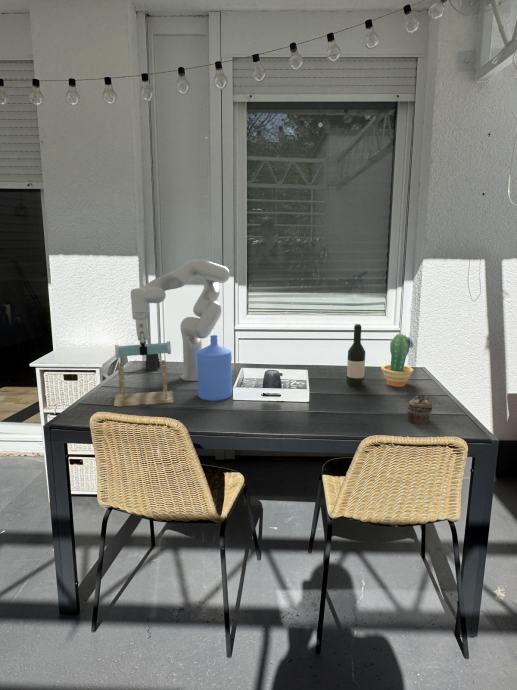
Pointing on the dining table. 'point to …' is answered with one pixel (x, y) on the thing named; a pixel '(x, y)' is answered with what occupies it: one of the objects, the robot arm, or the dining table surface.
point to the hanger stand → (142, 398)
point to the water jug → (214, 372)
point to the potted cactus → (398, 361)
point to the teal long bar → (135, 349)
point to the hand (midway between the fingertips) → (143, 353)
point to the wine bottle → (356, 360)
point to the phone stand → (152, 362)
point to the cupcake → (419, 409)
